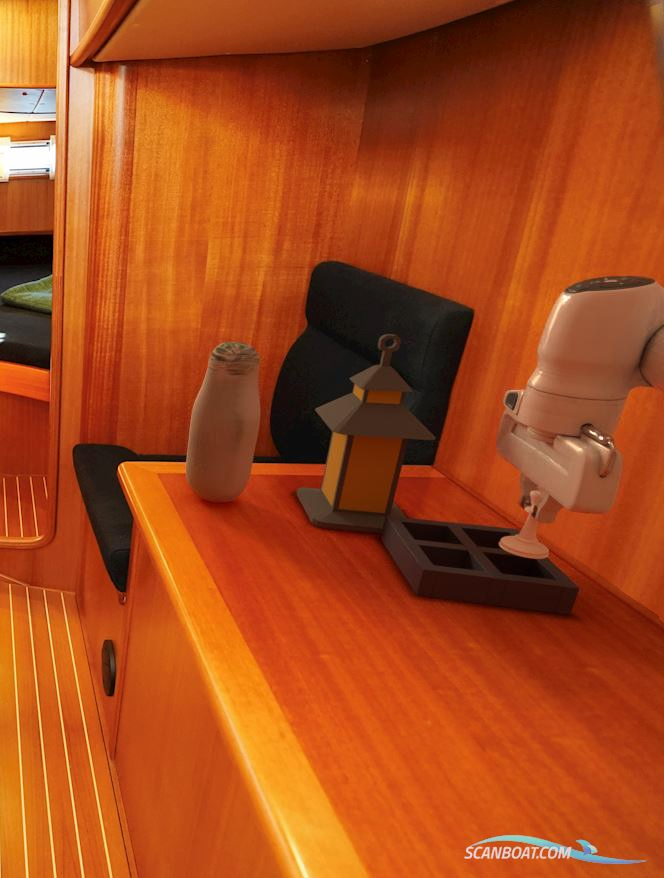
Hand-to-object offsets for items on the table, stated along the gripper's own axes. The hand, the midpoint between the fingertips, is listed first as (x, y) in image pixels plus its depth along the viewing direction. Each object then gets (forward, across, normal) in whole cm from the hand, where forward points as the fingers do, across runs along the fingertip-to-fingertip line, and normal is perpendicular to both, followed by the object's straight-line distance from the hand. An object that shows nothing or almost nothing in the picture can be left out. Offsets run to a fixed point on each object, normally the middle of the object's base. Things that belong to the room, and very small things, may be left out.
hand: (534, 514), depth 90 cm
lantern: (+12, +21, +14) cm, 27 cm away
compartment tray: (+11, +4, +4) cm, 13 cm away
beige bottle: (+12, +21, +35) cm, 42 cm away
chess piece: (+5, 0, 0) cm, 5 cm away
